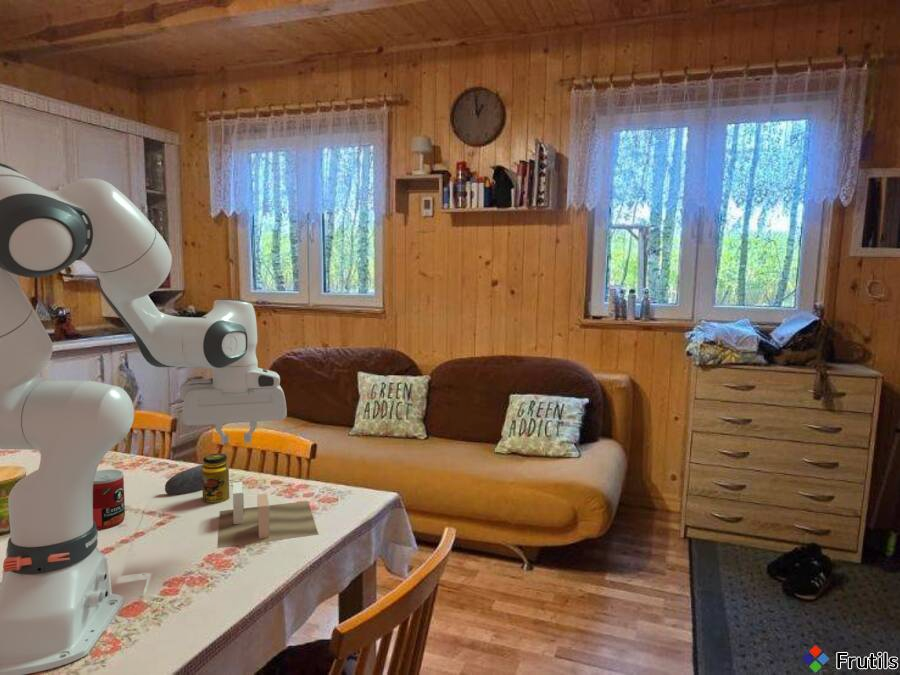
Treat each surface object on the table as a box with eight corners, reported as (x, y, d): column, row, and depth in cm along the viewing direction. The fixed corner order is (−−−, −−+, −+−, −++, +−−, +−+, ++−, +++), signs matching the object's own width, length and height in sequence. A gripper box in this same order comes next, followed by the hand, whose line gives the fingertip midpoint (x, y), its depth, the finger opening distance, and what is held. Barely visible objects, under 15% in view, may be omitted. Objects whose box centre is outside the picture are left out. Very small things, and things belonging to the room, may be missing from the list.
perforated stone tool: (168, 503, 141) (167, 475, 140) (161, 496, 145) (160, 470, 144) (229, 489, 151) (229, 463, 150) (222, 483, 155) (221, 458, 154)
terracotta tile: (269, 537, 121) (269, 505, 120) (259, 539, 120) (258, 506, 120) (268, 523, 128) (267, 493, 127) (257, 525, 127) (257, 494, 126)
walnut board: (318, 539, 123) (318, 534, 123) (217, 553, 116) (217, 547, 116) (308, 505, 141) (308, 500, 141) (220, 515, 134) (219, 511, 134)
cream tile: (243, 523, 128) (243, 492, 127) (233, 524, 127) (232, 493, 126) (243, 510, 134) (242, 481, 133) (233, 511, 133) (233, 482, 133)
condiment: (202, 511, 137) (200, 462, 135) (199, 498, 144) (197, 451, 143) (234, 506, 140) (233, 458, 139) (230, 493, 147) (229, 448, 146)
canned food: (107, 531, 125) (105, 482, 124) (76, 527, 126) (73, 479, 125) (133, 517, 132) (131, 470, 131) (103, 513, 134) (101, 467, 133)
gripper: (178, 382, 112) (180, 451, 113) (287, 378, 119) (287, 443, 121) (181, 376, 118) (183, 442, 119) (284, 373, 125) (285, 435, 126)
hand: (236, 443), depth 120 cm, fingers open, 3 cm apart
